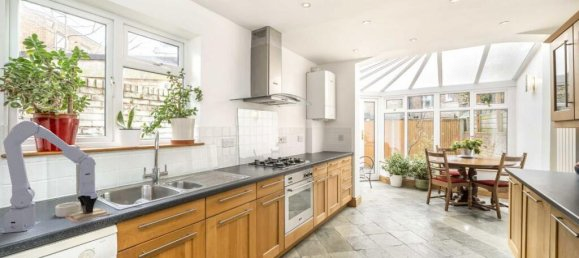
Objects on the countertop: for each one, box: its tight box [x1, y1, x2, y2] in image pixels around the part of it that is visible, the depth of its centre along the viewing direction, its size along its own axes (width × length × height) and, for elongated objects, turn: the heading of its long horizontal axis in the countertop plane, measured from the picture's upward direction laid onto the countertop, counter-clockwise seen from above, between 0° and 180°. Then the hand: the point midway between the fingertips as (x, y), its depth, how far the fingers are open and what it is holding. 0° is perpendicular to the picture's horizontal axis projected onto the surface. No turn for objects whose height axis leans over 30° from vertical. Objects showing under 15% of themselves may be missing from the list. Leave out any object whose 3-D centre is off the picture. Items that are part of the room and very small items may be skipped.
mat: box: [63, 207, 111, 223], centre depth 120 cm, size 14×14×1 cm
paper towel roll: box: [75, 163, 96, 202], centre depth 142 cm, size 7×6×21 cm
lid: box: [69, 205, 107, 222], centre depth 120 cm, size 11×11×4 cm
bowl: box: [54, 201, 82, 218], centre depth 122 cm, size 9×9×4 cm
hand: (87, 211), depth 120 cm, fingers closed on lid, 3 cm apart
